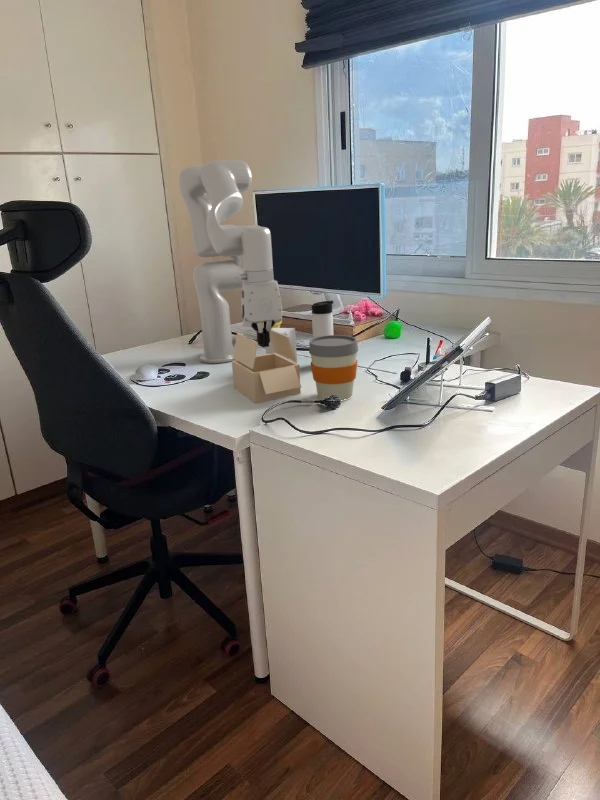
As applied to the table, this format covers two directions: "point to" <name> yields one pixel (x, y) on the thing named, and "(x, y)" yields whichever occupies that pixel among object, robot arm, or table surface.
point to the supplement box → (291, 334)
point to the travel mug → (322, 319)
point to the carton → (267, 378)
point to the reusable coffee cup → (334, 365)
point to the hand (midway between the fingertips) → (264, 346)
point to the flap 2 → (282, 344)
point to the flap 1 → (245, 350)
